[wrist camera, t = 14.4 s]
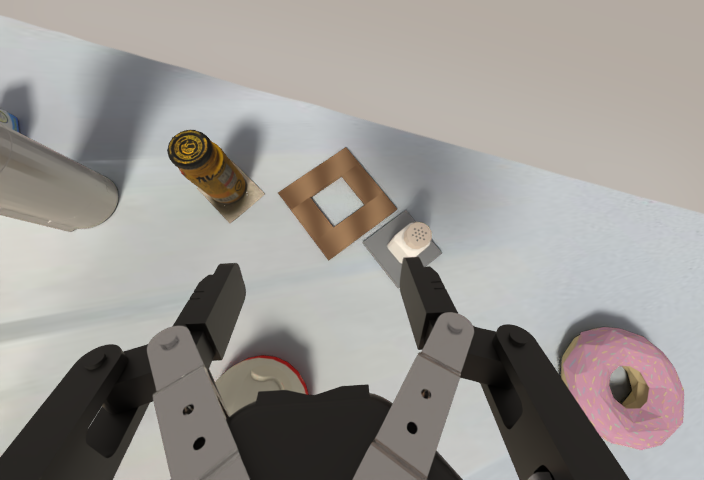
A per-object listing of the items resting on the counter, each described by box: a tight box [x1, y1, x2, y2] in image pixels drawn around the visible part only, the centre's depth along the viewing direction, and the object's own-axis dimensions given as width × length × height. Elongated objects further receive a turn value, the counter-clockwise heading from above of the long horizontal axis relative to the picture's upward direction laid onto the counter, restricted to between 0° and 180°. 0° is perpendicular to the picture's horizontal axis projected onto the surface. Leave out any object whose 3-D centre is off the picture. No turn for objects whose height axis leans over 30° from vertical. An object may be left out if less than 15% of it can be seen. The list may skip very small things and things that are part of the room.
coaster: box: [363, 210, 442, 288], centre depth 42 cm, size 9×9×1 cm
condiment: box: [167, 130, 264, 223], centre depth 38 cm, size 7×8×12 cm
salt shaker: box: [387, 222, 432, 264], centre depth 37 cm, size 4×4×10 cm
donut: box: [561, 327, 684, 450], centre depth 37 cm, size 16×15×5 cm
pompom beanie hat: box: [215, 355, 309, 416], centre depth 30 cm, size 14×14×15 cm
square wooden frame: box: [278, 147, 397, 260], centre depth 44 cm, size 14×14×1 cm
